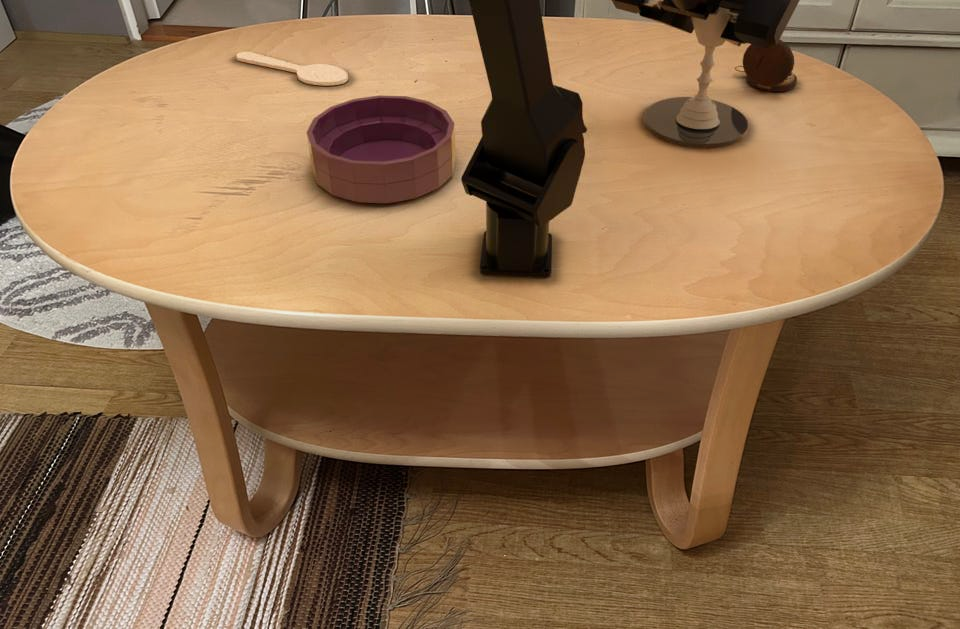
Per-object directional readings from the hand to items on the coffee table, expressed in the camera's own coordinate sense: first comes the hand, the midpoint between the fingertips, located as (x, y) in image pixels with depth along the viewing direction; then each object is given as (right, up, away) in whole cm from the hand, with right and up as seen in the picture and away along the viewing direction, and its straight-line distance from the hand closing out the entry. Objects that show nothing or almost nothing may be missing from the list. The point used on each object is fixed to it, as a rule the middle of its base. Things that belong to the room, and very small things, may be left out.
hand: (716, 35), depth 88 cm
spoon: (-52, +2, +18) cm, 55 cm away
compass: (+10, -1, +14) cm, 18 cm away
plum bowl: (-37, -15, -2) cm, 40 cm away
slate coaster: (-1, -8, +6) cm, 10 cm away
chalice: (-1, -8, +5) cm, 10 cm away
